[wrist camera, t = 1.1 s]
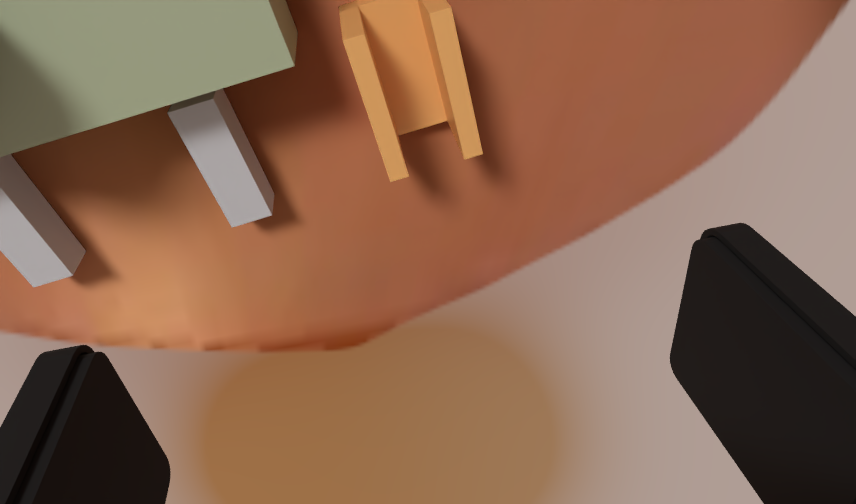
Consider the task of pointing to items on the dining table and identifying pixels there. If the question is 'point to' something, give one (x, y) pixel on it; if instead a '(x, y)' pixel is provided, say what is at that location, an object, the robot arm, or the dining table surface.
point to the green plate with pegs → (129, 98)
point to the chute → (408, 73)
